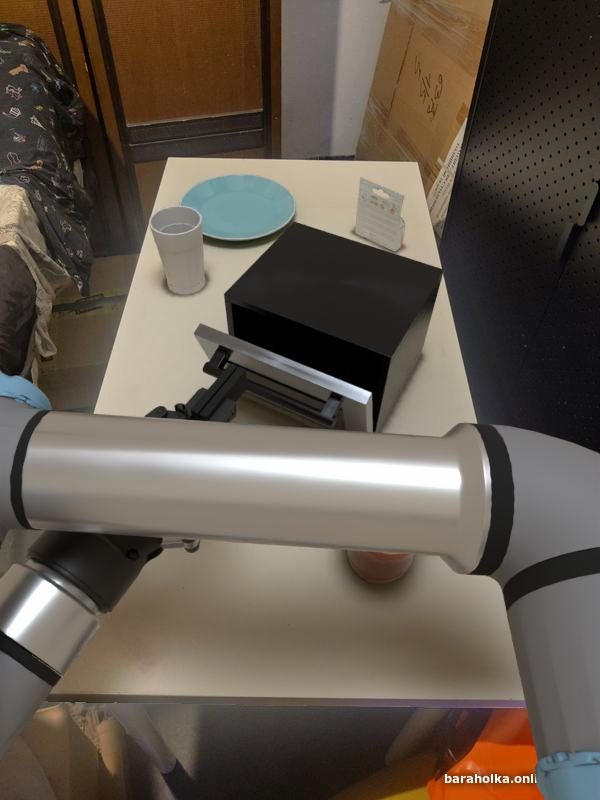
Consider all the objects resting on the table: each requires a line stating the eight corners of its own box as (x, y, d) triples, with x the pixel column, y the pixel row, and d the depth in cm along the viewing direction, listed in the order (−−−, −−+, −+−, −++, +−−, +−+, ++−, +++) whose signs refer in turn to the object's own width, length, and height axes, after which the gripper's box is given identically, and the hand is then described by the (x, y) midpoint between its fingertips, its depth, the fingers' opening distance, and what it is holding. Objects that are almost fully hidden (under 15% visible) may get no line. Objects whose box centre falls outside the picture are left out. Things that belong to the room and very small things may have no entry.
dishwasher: (373, 441, 72) (391, 357, 60) (233, 380, 79) (223, 293, 66) (420, 355, 83) (444, 269, 70) (293, 308, 89) (294, 221, 77)
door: (357, 473, 71) (352, 431, 56) (215, 408, 77) (178, 356, 63) (373, 441, 72) (372, 392, 58) (232, 380, 78) (200, 322, 64)
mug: (355, 604, 59) (366, 566, 51) (328, 532, 64) (334, 488, 56) (455, 572, 61) (480, 531, 53) (420, 505, 67) (439, 459, 59)
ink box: (361, 227, 104) (368, 170, 95) (402, 247, 100) (413, 188, 91) (352, 234, 103) (358, 176, 94) (393, 254, 99) (404, 195, 90)
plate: (313, 236, 102) (314, 223, 100) (197, 261, 96) (195, 248, 94) (273, 178, 115) (272, 165, 113) (168, 198, 109) (166, 184, 107)
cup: (160, 272, 94) (146, 209, 85) (206, 265, 96) (197, 202, 87) (165, 301, 89) (151, 238, 80) (213, 293, 91) (205, 230, 82)
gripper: (16, 566, 44) (188, 376, 57) (147, 649, 40) (299, 425, 54) (-25, 524, 38) (177, 323, 52) (124, 616, 35) (300, 374, 48)
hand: (239, 375), depth 53 cm, fingers closed
